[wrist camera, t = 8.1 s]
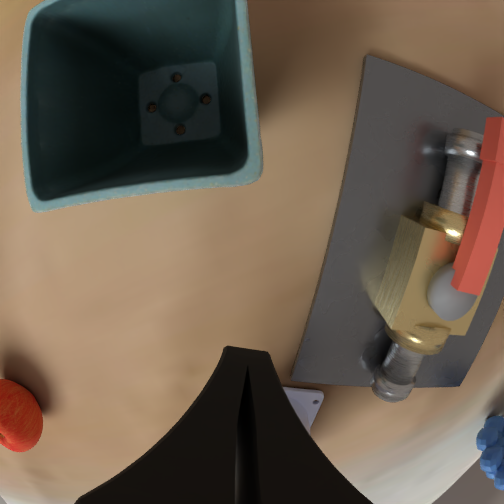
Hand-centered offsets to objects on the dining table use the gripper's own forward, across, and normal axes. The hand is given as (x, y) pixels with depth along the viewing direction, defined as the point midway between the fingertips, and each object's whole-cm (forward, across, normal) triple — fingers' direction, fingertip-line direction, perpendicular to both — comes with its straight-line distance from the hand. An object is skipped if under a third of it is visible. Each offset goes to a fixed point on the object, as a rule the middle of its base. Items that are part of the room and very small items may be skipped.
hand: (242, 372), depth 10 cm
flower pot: (+11, +6, -8) cm, 15 cm away
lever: (+7, -12, -5) cm, 15 cm away
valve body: (+10, -13, -2) cm, 16 cm away
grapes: (+9, -30, +16) cm, 36 cm away
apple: (+10, +22, +21) cm, 32 cm away
